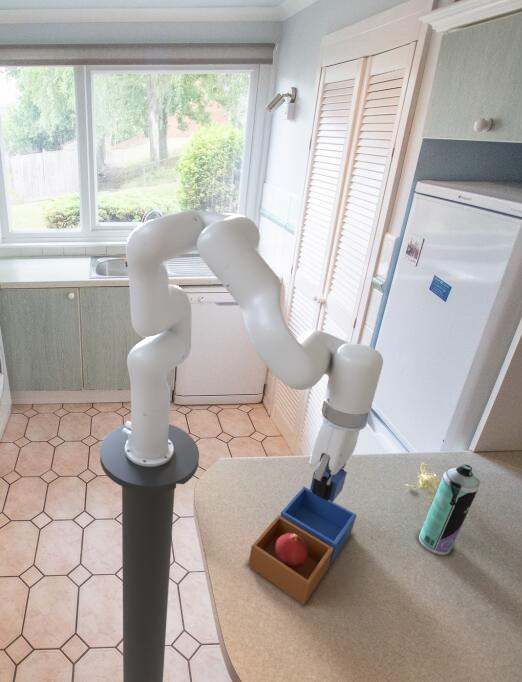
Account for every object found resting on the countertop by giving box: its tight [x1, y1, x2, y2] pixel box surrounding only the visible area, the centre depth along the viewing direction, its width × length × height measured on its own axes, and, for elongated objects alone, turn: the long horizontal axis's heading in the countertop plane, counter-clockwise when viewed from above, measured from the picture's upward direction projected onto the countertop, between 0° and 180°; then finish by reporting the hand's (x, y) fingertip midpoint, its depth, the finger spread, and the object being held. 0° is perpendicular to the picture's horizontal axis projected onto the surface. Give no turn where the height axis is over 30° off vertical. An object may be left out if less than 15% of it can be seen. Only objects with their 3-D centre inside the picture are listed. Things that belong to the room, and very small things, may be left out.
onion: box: [275, 533, 308, 568], centre depth 85 cm, size 6×6×8 cm
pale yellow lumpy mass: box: [403, 458, 442, 505], centre depth 100 cm, size 11×15×9 cm
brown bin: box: [247, 514, 334, 606], centre depth 85 cm, size 11×10×6 cm
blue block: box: [309, 466, 348, 502], centre depth 87 cm, size 4×4×4 cm
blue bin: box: [279, 486, 357, 566], centre depth 92 cm, size 11×10×6 cm
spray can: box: [418, 464, 481, 556], centre depth 87 cm, size 6×6×20 cm
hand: (326, 488), depth 88 cm, fingers closed on blue block, 4 cm apart
